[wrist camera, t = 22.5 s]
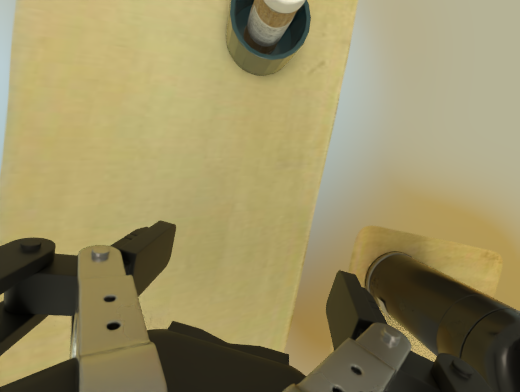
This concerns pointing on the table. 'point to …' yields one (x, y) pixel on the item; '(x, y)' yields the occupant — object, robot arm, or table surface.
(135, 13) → the table surface
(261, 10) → the sprinkles bottle
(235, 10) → the cup
